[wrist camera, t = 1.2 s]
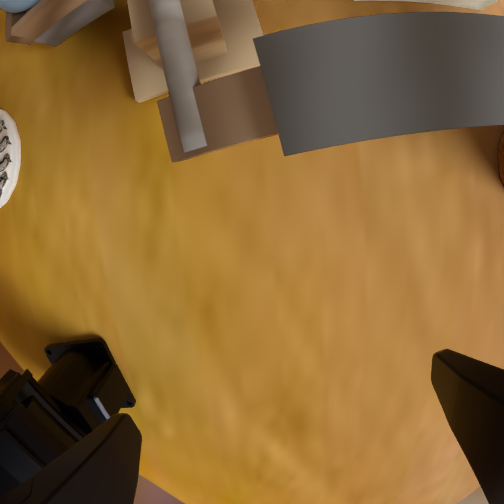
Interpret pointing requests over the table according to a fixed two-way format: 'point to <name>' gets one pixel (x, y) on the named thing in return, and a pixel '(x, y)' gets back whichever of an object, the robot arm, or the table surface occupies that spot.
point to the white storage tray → (452, 2)
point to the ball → (17, 5)
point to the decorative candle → (8, 156)
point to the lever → (313, 77)
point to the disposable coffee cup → (501, 157)
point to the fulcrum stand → (193, 42)
